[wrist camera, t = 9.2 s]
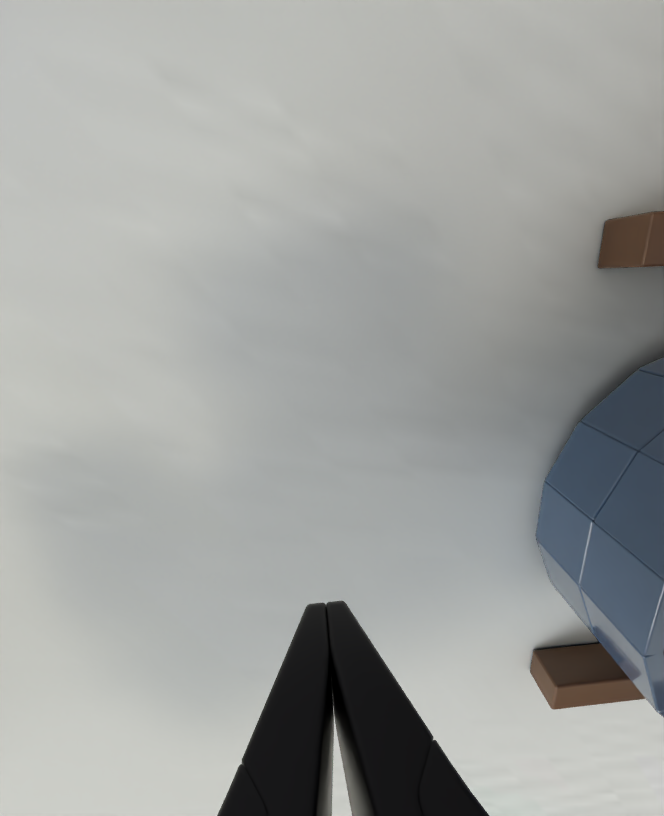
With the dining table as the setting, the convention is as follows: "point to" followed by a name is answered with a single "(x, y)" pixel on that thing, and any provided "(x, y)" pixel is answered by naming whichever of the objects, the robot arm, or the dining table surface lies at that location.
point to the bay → (591, 664)
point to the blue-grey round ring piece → (614, 526)
